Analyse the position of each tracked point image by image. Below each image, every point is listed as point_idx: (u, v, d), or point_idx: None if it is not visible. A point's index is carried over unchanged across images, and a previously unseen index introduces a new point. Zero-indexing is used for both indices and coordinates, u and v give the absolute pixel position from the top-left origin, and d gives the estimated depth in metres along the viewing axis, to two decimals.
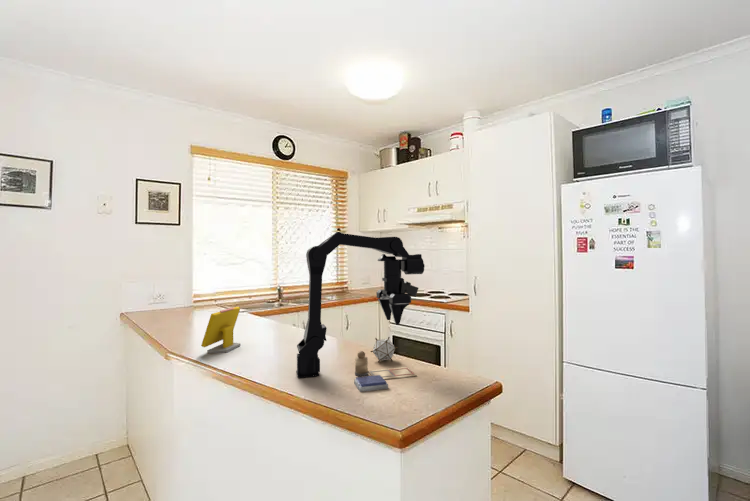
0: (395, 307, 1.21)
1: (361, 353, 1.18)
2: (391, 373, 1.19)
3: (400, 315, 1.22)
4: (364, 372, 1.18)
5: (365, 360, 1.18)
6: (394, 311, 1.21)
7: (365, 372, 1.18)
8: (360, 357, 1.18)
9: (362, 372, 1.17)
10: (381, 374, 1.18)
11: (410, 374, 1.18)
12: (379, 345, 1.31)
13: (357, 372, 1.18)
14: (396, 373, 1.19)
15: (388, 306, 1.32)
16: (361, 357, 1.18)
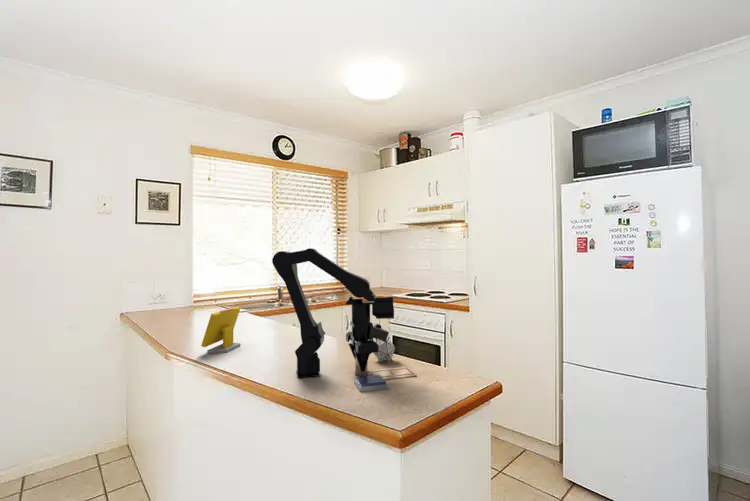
0: (360, 354, 1.15)
1: None
2: (391, 373, 1.19)
3: (366, 362, 1.17)
4: (364, 372, 1.18)
5: None
6: (359, 358, 1.15)
7: (365, 372, 1.18)
8: None
9: (362, 372, 1.17)
10: (381, 374, 1.18)
11: (410, 374, 1.18)
12: (379, 345, 1.31)
13: (357, 372, 1.18)
14: (396, 373, 1.19)
15: None
16: None
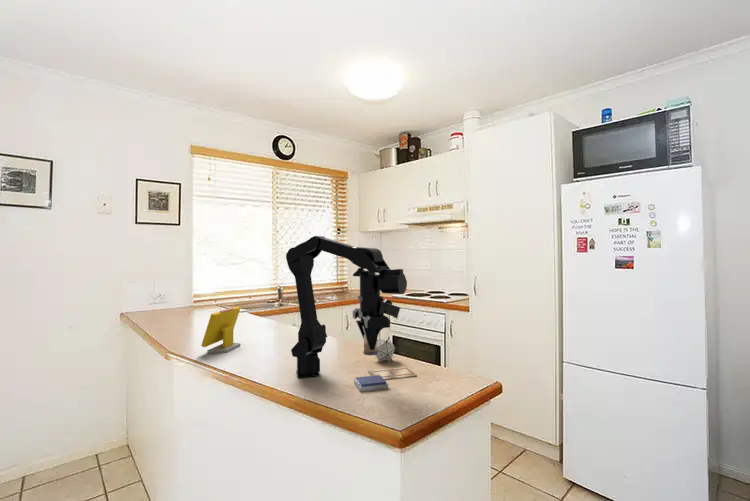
0: (369, 330, 1.05)
1: None
2: (391, 373, 1.19)
3: (375, 339, 1.06)
4: (374, 351, 1.07)
5: None
6: (368, 335, 1.05)
7: (375, 351, 1.07)
8: None
9: (371, 350, 1.07)
10: (381, 374, 1.18)
11: (410, 374, 1.18)
12: (379, 345, 1.31)
13: (366, 351, 1.07)
14: (396, 373, 1.19)
15: None
16: None
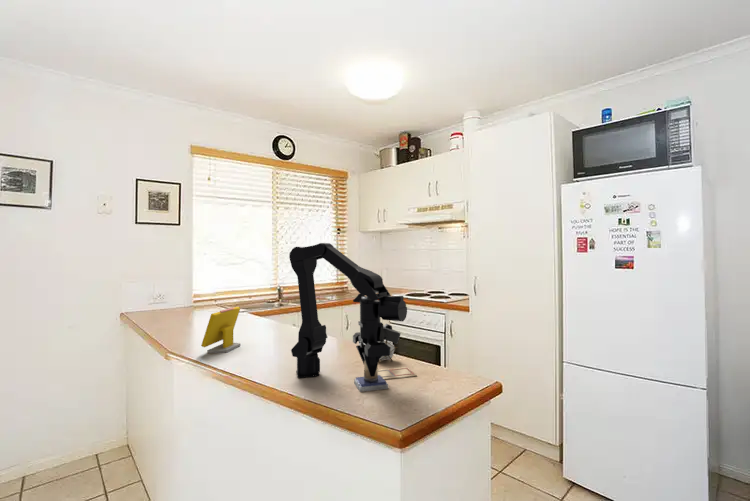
0: (369, 357, 1.05)
1: None
2: (391, 373, 1.19)
3: (376, 366, 1.06)
4: (374, 377, 1.07)
5: None
6: (368, 362, 1.05)
7: (375, 377, 1.07)
8: None
9: (372, 377, 1.07)
10: (381, 374, 1.18)
11: (410, 374, 1.18)
12: None
13: (366, 377, 1.07)
14: (396, 373, 1.19)
15: None
16: None
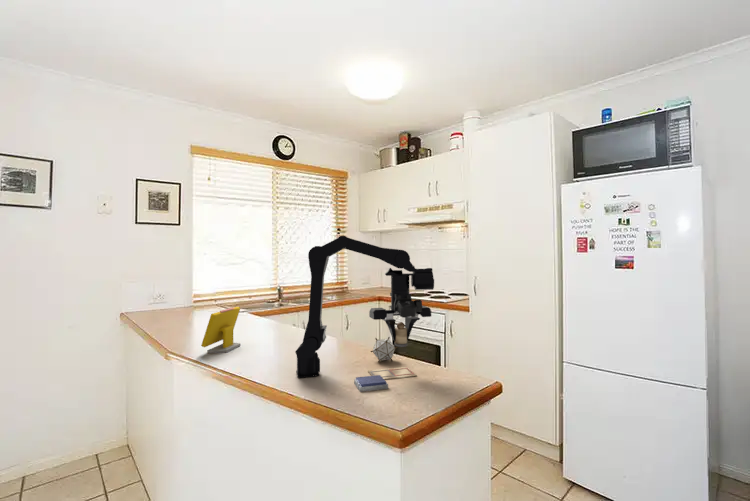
0: (388, 321, 1.20)
1: None
2: (391, 373, 1.19)
3: (392, 332, 1.19)
4: (395, 342, 1.19)
5: (396, 331, 1.19)
6: (388, 325, 1.21)
7: (396, 342, 1.19)
8: (397, 327, 1.20)
9: (395, 341, 1.20)
10: (381, 374, 1.18)
11: (410, 374, 1.18)
12: (379, 345, 1.31)
13: None
14: (396, 373, 1.19)
15: (407, 325, 1.21)
16: (397, 327, 1.20)
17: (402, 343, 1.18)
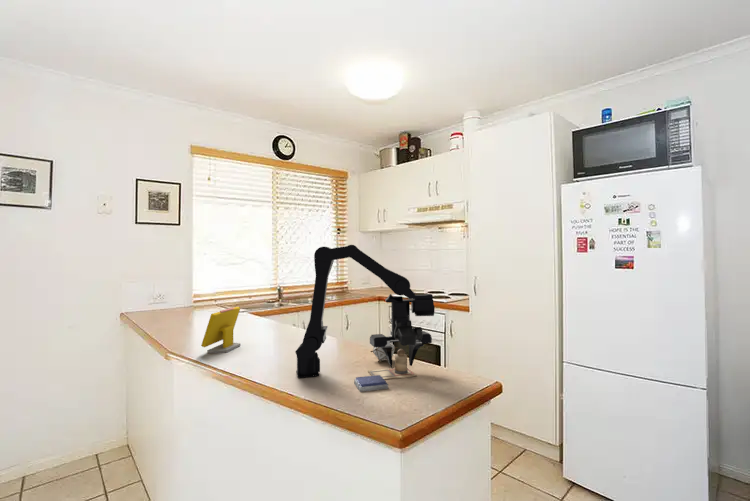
0: None
1: (398, 350, 1.20)
2: (391, 373, 1.19)
3: (389, 359, 1.18)
4: (396, 369, 1.19)
5: (397, 358, 1.19)
6: None
7: (396, 370, 1.19)
8: (397, 354, 1.20)
9: (395, 368, 1.20)
10: (381, 374, 1.18)
11: (410, 374, 1.18)
12: None
13: None
14: None
15: (411, 351, 1.21)
16: (397, 354, 1.20)
17: (402, 370, 1.18)
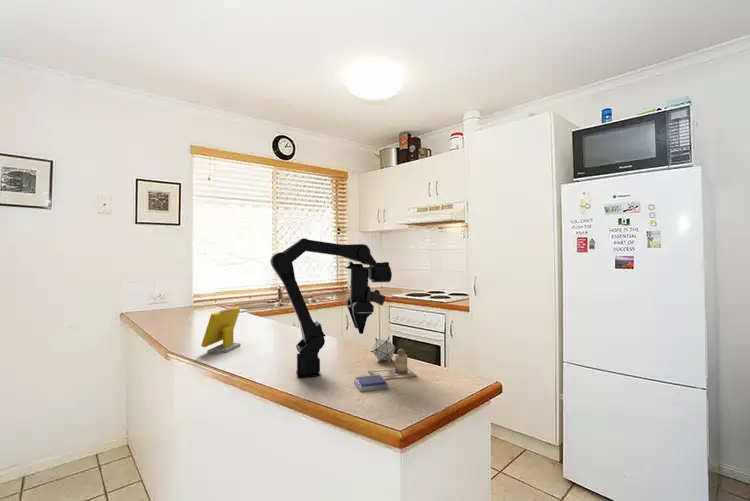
0: (358, 316, 1.19)
1: (398, 350, 1.20)
2: (391, 373, 1.19)
3: (364, 324, 1.20)
4: (396, 369, 1.19)
5: (397, 358, 1.19)
6: (357, 320, 1.19)
7: (396, 370, 1.19)
8: (397, 354, 1.20)
9: (395, 368, 1.20)
10: (381, 374, 1.18)
11: (410, 374, 1.18)
12: (379, 345, 1.31)
13: None
14: (396, 373, 1.19)
15: None
16: (397, 354, 1.20)
17: (402, 370, 1.18)
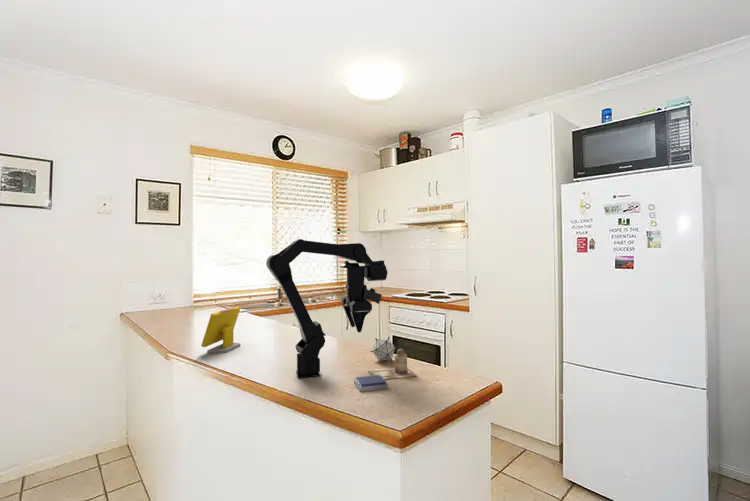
0: (356, 315, 1.20)
1: (397, 350, 1.20)
2: (391, 373, 1.19)
3: (362, 323, 1.21)
4: (396, 369, 1.19)
5: (396, 358, 1.19)
6: (355, 319, 1.20)
7: (396, 370, 1.19)
8: (397, 354, 1.20)
9: (395, 368, 1.20)
10: (381, 374, 1.18)
11: (410, 374, 1.18)
12: (379, 345, 1.31)
13: None
14: None
15: None
16: (397, 354, 1.20)
17: (402, 370, 1.18)
